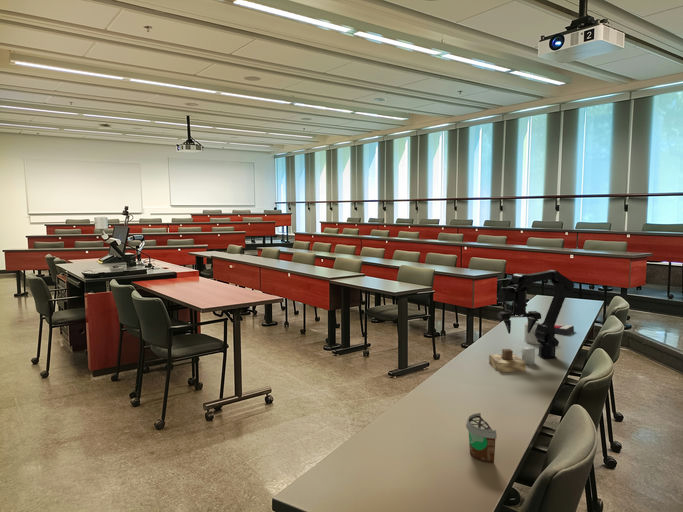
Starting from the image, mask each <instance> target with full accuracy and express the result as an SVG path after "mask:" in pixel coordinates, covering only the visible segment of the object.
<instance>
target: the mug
mask: <svg viewBox="0 0 683 512" xmlns="http://www.w3.org/2000/svg"><path fill="white" fill-rule="evenodd" d="M542 323H543V322H540V321H536V323H535V324H534V326H533V327H532V329H531V331H530V333H528V332H527V328H528V321H526V322H525V323H524V333H523V334H524V336H523V337H524V339H523V340H524V341H525V343H527V344H531V345H540V343H539V342H538V341H537V338H536V336H535V330H536V328H537V325H538V324H540V325H541V324H542Z"/></svg>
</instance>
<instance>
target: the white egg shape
mask: <svg viewBox="0 0 683 512" xmlns="http://www.w3.org/2000/svg"><path fill="white" fill-rule="evenodd" d="M521 349H522V350H521V359H522V360H523V361H525V362H526V364H527V365H529V366H532V365H535V358H536V348H535V347H534V346H533V347H532V346H522V347H521ZM527 365H526V366H527Z"/></svg>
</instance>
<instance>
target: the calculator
mask: <svg viewBox="0 0 683 512" xmlns="http://www.w3.org/2000/svg"><path fill="white" fill-rule="evenodd" d="M554 327H555V334H558V335H562V336H569V335H570V334H572V333H574V332H575V329H574V328H575V327H574V325H569V324H563V323H557V322H556V323H555V326H554Z"/></svg>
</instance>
